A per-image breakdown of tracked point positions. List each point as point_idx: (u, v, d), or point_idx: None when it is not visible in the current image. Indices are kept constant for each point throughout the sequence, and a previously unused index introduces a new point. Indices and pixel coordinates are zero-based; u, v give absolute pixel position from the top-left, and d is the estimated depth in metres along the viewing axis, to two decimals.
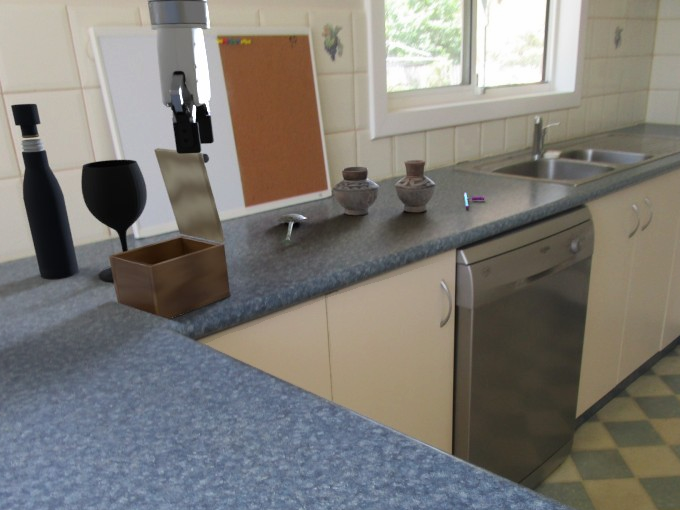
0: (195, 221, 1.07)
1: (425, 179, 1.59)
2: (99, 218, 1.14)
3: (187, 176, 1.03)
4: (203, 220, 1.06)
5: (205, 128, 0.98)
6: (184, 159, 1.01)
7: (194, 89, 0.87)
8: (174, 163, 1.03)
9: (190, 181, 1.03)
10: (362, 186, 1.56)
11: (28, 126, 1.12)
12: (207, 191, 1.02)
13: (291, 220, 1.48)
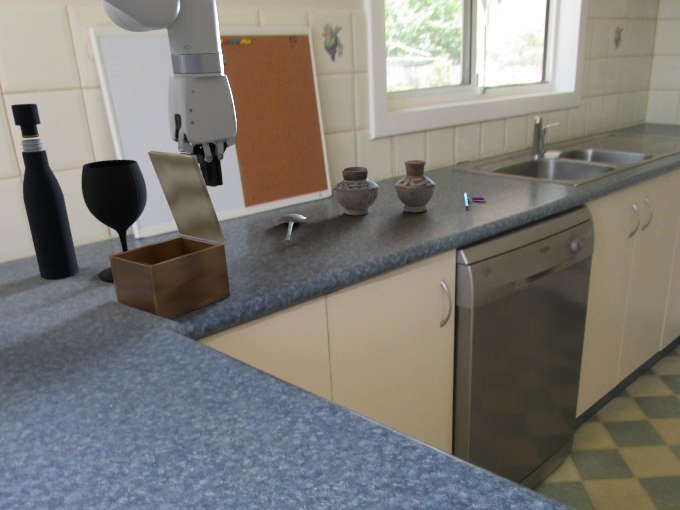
0: (194, 222, 1.07)
1: (425, 179, 1.59)
2: (99, 218, 1.14)
3: (182, 178, 1.02)
4: (202, 221, 1.05)
5: None
6: (178, 162, 1.00)
7: (187, 130, 1.00)
8: (169, 166, 1.02)
9: (186, 183, 1.02)
10: (362, 186, 1.56)
11: (28, 126, 1.12)
12: (203, 193, 1.01)
13: (291, 220, 1.48)
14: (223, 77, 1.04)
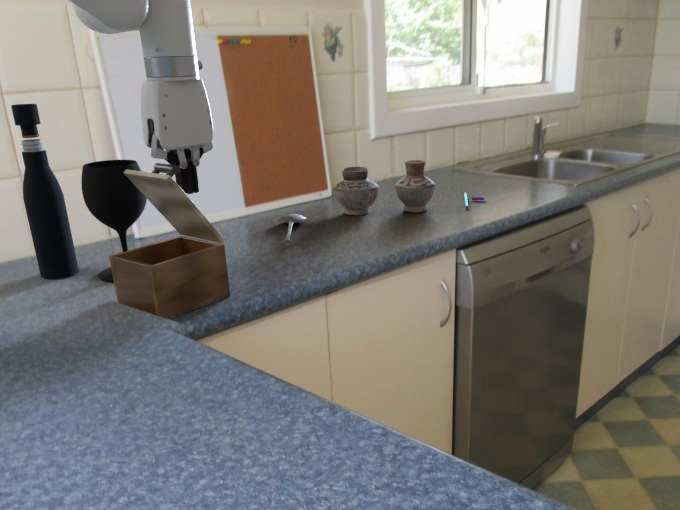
0: (190, 227, 1.06)
1: (425, 179, 1.59)
2: (99, 218, 1.14)
3: (165, 194, 1.00)
4: (197, 227, 1.05)
5: None
6: (156, 182, 0.98)
7: (160, 135, 0.97)
8: (148, 184, 1.00)
9: (170, 198, 1.00)
10: (362, 186, 1.56)
11: (28, 126, 1.12)
12: (190, 206, 0.99)
13: (291, 220, 1.48)
14: (198, 81, 1.00)
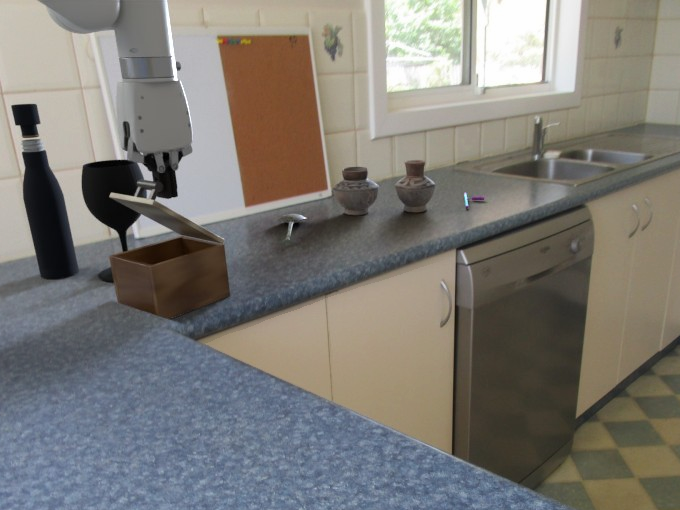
0: (188, 232, 1.06)
1: (425, 179, 1.59)
2: (99, 218, 1.14)
3: (155, 212, 0.99)
4: (194, 232, 1.05)
5: None
6: (143, 205, 0.97)
7: (136, 138, 0.94)
8: (136, 205, 0.99)
9: (161, 215, 1.00)
10: (362, 186, 1.56)
11: (28, 126, 1.12)
12: (182, 221, 0.99)
13: (291, 220, 1.48)
14: (176, 82, 0.97)
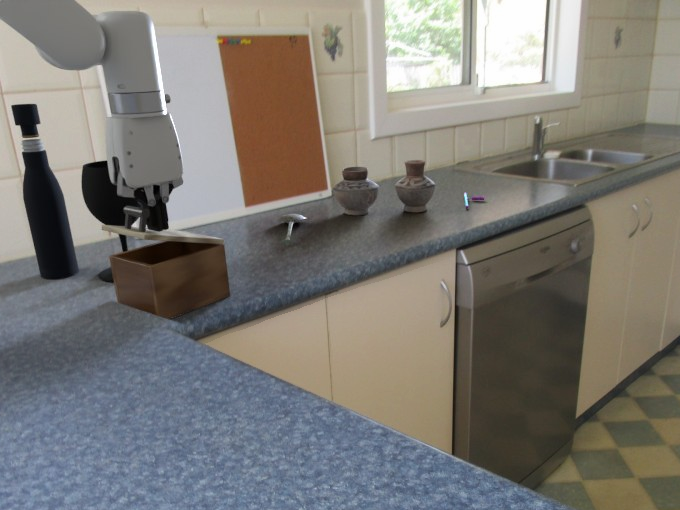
0: None
1: (425, 179, 1.59)
2: (99, 218, 1.14)
3: None
4: None
5: None
6: None
7: (126, 174, 0.94)
8: None
9: None
10: (362, 186, 1.56)
11: (28, 126, 1.12)
12: (178, 241, 0.99)
13: (291, 220, 1.48)
14: (166, 116, 0.96)
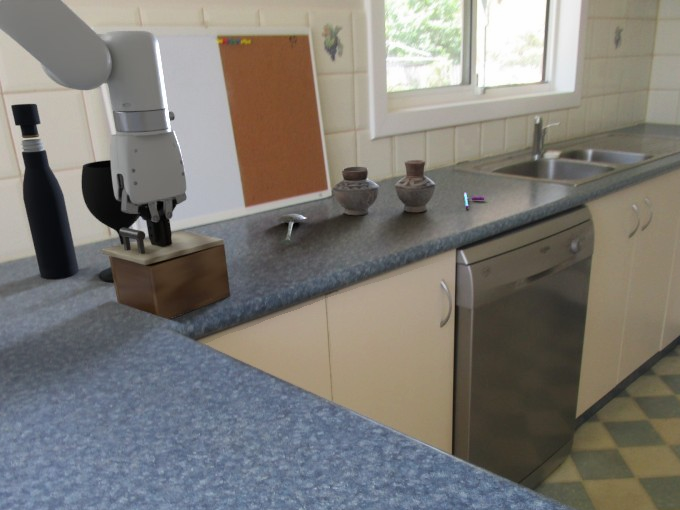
0: None
1: (425, 179, 1.59)
2: (99, 218, 1.14)
3: None
4: None
5: None
6: None
7: (130, 191, 0.95)
8: None
9: None
10: (362, 186, 1.56)
11: (28, 126, 1.12)
12: None
13: (291, 220, 1.48)
14: (170, 133, 0.98)
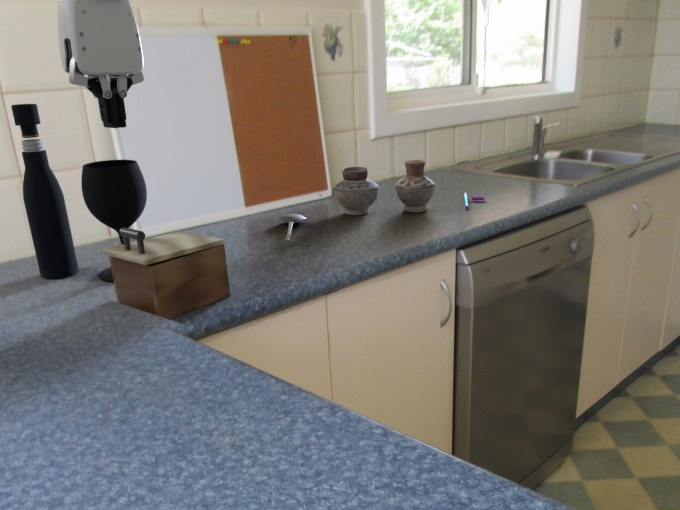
0: None
1: (425, 179, 1.59)
2: (99, 218, 1.14)
3: None
4: None
5: None
6: None
7: (78, 57, 0.87)
8: None
9: None
10: (362, 186, 1.56)
11: (28, 126, 1.12)
12: None
13: (291, 220, 1.48)
14: (124, 0, 0.90)
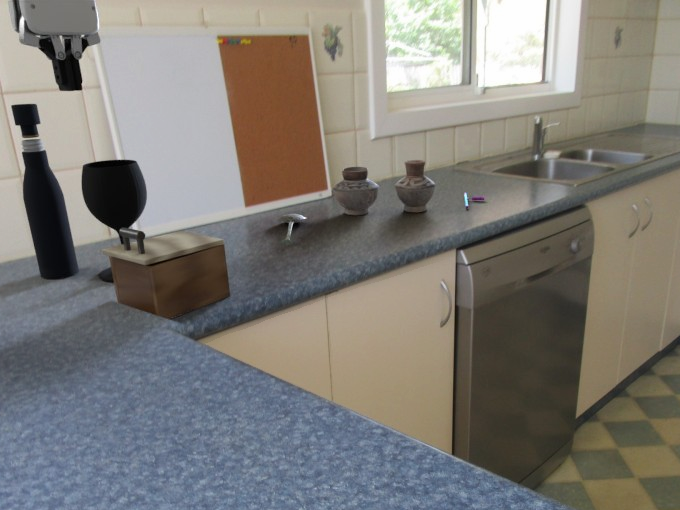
0: None
1: (425, 179, 1.59)
2: (99, 218, 1.14)
3: None
4: None
5: None
6: None
7: (27, 15, 0.84)
8: None
9: None
10: (362, 186, 1.56)
11: (28, 126, 1.12)
12: None
13: (291, 220, 1.48)
14: None
